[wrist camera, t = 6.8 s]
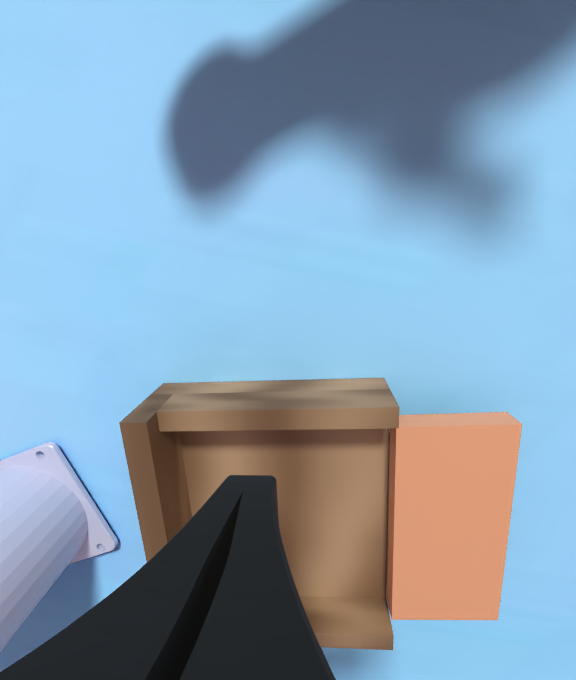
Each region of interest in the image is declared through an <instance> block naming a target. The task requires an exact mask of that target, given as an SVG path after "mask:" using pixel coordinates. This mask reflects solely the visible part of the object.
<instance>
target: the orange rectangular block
mask: <svg viewBox="0 0 576 680" xmlns="http://www.w3.org/2000/svg"><path fill="white" fill-rule="evenodd" d="M521 429H522V424H521V423H520V422H519V421H517V420H516V419H515V418H514V417H513V416H511V415H510V414H509V413H508V412H489V413H455V414H421V415H399V428H390V449H389V503H388V556H387V601H388V606H389V610H390V614H391V618H392V620H498V614H499V606H500V598H501V590H502V582H503V574H504V566H505V558H506V550H507V542H508V534H509V525H510V517H511V509H512V501H513V493H514V485H515V477H516V469H517V461H518V453H519V445H520V437H521Z"/></svg>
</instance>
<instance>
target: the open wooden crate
mask: <svg viewBox="0 0 576 680" xmlns="http://www.w3.org/2000/svg"><path fill="white" fill-rule="evenodd" d="M120 428H121V433H122V438H123V443H124V449H125V454H126V459H127V464H128V469H129V474H130V479H131V484H132V489H133V494H134V499H135V504H136V509H137V515H138V520H139V525H140V530H141V535H142V540H143V545H144V550H145V555H146V560H147V562H148V561H149V560H150V559H152V558H153V557H154V556H155V555H156V554H157V553H158V552H159V551H160V550H161V549H162V548H163V547H164V546H165V545H166V544H167V543H168V542H169V541H170V540H171V539H172V538H173V537H174V536H175V535H176V534H177V533H178V532H179V531H180V530H181V529H182V528H183V527H184V525H185V524H186V523H187V522H188V521H189V520H190V519H191V518H192V517H193V516H194V515H195V514H196V512H197V511H198V510H199V509H200V508H201V507H202V506H203V505H204V503H205V502H206V501H207V500H208V499H209V498H210V497H211V495H212V494H213V493H214V492H215V491H216V490H217V488H218V487H219V486H220V485H221V484H222V483H223V481H224V480H225V479H226V478H227V477H228V476H229V475H272V476H273V477H274V478H276V482H277V501H278V519H279V529H280V534H281V539H282V543H283V547H284V550H285V554H286V557H287V561H288V564H289V567H290V571H291V574H292V577H293V580H294V583H295V586H296V588H297V591H298V594H299V597H300V599H301V602H302V605H303V607H304V610H305V612H306V615H307V617H308V620H309V622H310V625H311V627H312V629H313V631H314V634H315V636H316V638H317V640H318V643H319V645H320V647H332V648H357V649H381V650H393V631H392V626H391V621H390V616H389V611H388V606H387V601H386V568H387V512H388V457H389V429H390V428H399V406H398V404H397V402H396V400H395V398H394V396H393V394H392V392H391V391H390V389H389V387H388V385H387V383H386V381H385V379H384V378H358V379H319V380H280V381H241V382H202V383H163V384H162V385H161V386H160V387H159V388H158V389H157V390H155V391H154V392H153V393H152V394H151V395H150V396H149V397H148V398H147V399H145V400H144V401H143V402H142V403H141V404H140V405H139V406H138V407H136V408H135V409H134V410H133V411H132V412H131V413H130V414H129V415H128V416H126V417H125V418H124V419H123V420H122V421H121V422H120Z"/></svg>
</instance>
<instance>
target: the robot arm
mask: <svg viewBox="0 0 576 680" xmlns="http://www.w3.org/2000/svg"><path fill="white" fill-rule="evenodd" d="M42 452H43V453H44V454H43V453H42ZM117 544H118V540H117V538H116V536H115V535H114V533H113V532H112V530H111V529H110V527H109V525H108V524H107V522H106V521H105V519H104V518H103V516H102V514H101V513H100V511H99V510H98V508H97V507H96V505H95V503H94V502H93V500H92V499H91V497H90V496H89V494H88V492H87V491H86V489H85V488H84V486H83V485H82V483H81V481H80V480H79V478H78V477H77V475H76V474H75V472H74V470H73V469H72V467H71V466H70V464H69V463H68V461H67V459H66V458H65V456H64V455H63V453H62V452H61V450H60V448H59V447H58V446H57V445H56V444H55V443H53V442H46V443H44V444H41V445H39V446H36V447H34V448H31V449H28V450H26V451H23V452H21V453H18V454H16V455H13V456H11V457H8V458H6V459H3V460H0V652H1V651H2V649H3V648H4V647H5V645H6V644H7V643H8V642H9V640H10V639H11V638H12V636H13V635H14V634H15V633H16V631H17V630H18V629H19V627H20V626H21V625H22V624H23V622H24V621H25V620H26V618H27V617H28V616H29V615H30V613H31V612H32V611H33V609H34V608H35V607H36V606H37V604H38V603H39V602H40V600H41V599H42V598H43V597H44V595H45V594H46V593H47V591H48V590H49V589H50V588H51V586H52V585H53V584H54V582H55V581H56V580H57V579H58V577H59V576H60V575H61V573H62V572H63V571H64V570H65V568H66V567H67V566H68V564H71V563H74V562H77V561H81V560H84V559H87V558H90V557H93V556H96V555H100V554H103V553H106V552H109V551H112V550H114V548H115V547H116V545H117ZM0 680H336V679H335V677H334V675H333V673H332V671H331V669H330V667H329V665H328V662H327V660H326V658H325V656H324V654H323V651H322V649H321V647H320V645H319V643H318V640H317V638H316V636H315V634H314V631H313V629H312V627H311V625H310V622H309V620H308V617H307V615H306V612H305V610H304V607H303V605H302V602H301V599H300V597H299V594H298V591H297V588H296V586H295V583H294V580H293V577H292V574H291V571H290V567H289V564H288V561H287V557H286V554H285V550H284V547H283V543H282V539H281V534H280V529H279V519H278V501H277V482H276V478H274V477H273V476H272V475H229V476H228V477H227V478H226V479H225V480H224V481H223V483H222V484H221V485H220V486H219V487H218V488H217V490H216V491H215V492H214V493H213V494H212V495H211V497H210V498H209V499H208V500H207V501H206V502H205V503H204V505H203V506H202V507H201V508H200V509H199V510H198V511H197V512H196V514H195V515H194V516H193V517H192V518H191V519H190V520H189V521H188V522H187V523H186V524H185V525H184V527H183V528H182V529H181V530H180V531H179V532H178V533H177V534H176V535H175V536H174V537H173V538H172V539H171V540H170V541H169V542H168V543H167V544H166V545H165V546H164V547H163V548H162V549H161V550H160V551H159V552H158V553H157V554H156V555H155V556H154V557H153V558H152V559H150V560H149V561H148V562H147V563H146V564H145V565H144V566H143V567H142V568H141V569H140V570H138V571H137V572H136V573H135V574H134V575H133V576H132V577H130V578H129V579H128V580H127V581H126V582H125V583H123V584H122V585H121V586H120V587H119V588H117V589H116V590H115V591H114V592H113V593H111V594H110V595H109V596H108V597H106V598H105V599H104V600H102V601H101V602H100V603H98V604H97V605H96V606H94V607H93V608H92V609H90V610H89V611H88V612H86V613H85V614H84V615H82V616H81V617H80V618H78V619H77V620H76V621H74V622H73V623H72V624H71V625H69V626H68V627H67V628H65V629H64V630H62V631H61V632H60V633H58V634H57V635H55V636H54V637H52V638H51V639H50V640H48V641H47V642H45V643H44V644H42V645H41V646H39V647H38V648H36V649H35V650H34V651H32V652H31V653H29V654H28V655H26V656H25V657H23V658H21V659H20V660H18V661H17V662H15V663H14V664H12V665H11V666H9V667H8V668H6V669H5V670H3V671H2V672H0Z"/></svg>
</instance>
